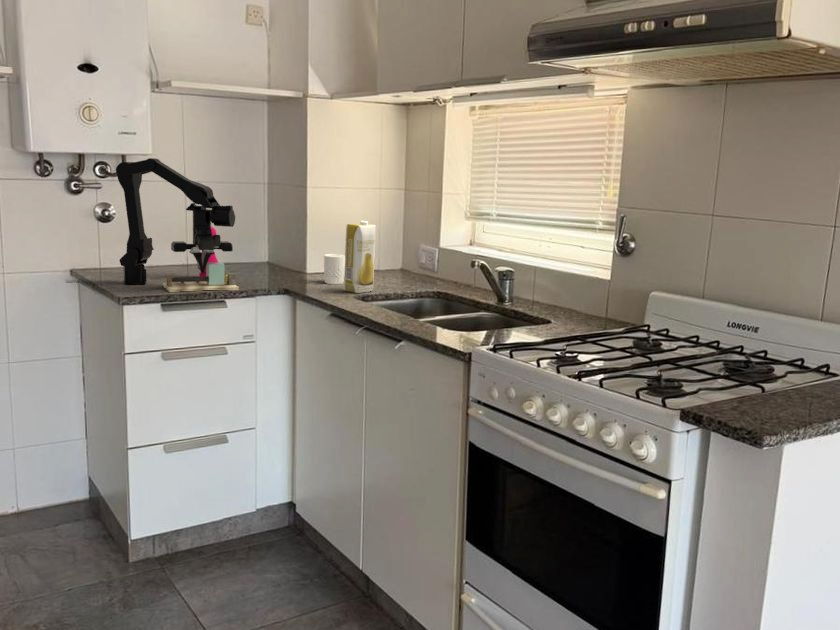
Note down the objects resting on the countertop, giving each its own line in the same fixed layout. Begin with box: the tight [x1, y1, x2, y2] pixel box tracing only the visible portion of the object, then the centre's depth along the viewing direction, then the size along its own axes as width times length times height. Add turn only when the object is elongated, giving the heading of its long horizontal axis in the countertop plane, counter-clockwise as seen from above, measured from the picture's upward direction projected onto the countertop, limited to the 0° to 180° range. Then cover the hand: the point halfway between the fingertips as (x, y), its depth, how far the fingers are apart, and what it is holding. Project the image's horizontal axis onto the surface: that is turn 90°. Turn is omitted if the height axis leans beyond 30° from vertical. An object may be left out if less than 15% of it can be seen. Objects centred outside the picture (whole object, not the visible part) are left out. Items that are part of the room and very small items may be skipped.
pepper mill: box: [197, 226, 219, 277], centre depth 279 cm, size 7×7×20 cm
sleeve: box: [205, 262, 226, 285], centre depth 262 cm, size 5×4×7 cm
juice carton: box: [343, 220, 376, 294], centre depth 268 cm, size 9×8×24 cm
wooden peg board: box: [162, 272, 240, 293], centre depth 260 cm, size 22×12×5 cm, turn 117°
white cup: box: [323, 253, 345, 285], centre depth 284 cm, size 8×8×10 cm
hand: (202, 272), depth 260 cm, fingers closed
